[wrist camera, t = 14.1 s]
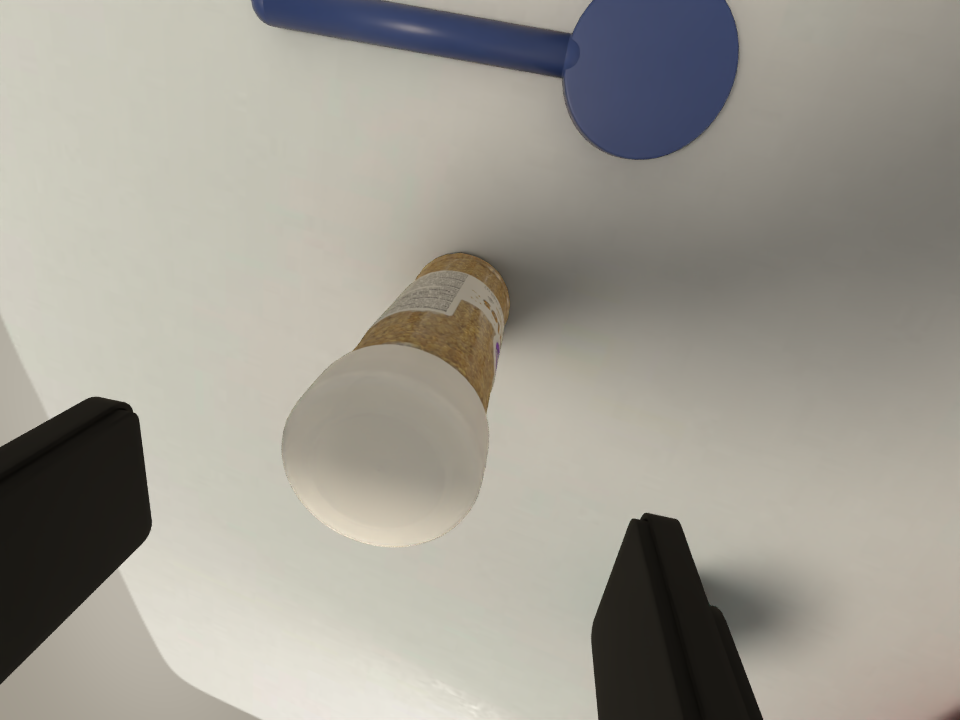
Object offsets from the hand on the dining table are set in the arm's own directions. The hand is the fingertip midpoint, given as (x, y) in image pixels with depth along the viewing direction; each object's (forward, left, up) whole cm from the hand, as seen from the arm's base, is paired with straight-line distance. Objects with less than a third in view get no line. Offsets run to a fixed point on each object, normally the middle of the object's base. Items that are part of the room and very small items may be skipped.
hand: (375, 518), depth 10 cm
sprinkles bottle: (0, 0, -15) cm, 15 cm away
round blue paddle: (-7, -7, -15) cm, 18 cm away
